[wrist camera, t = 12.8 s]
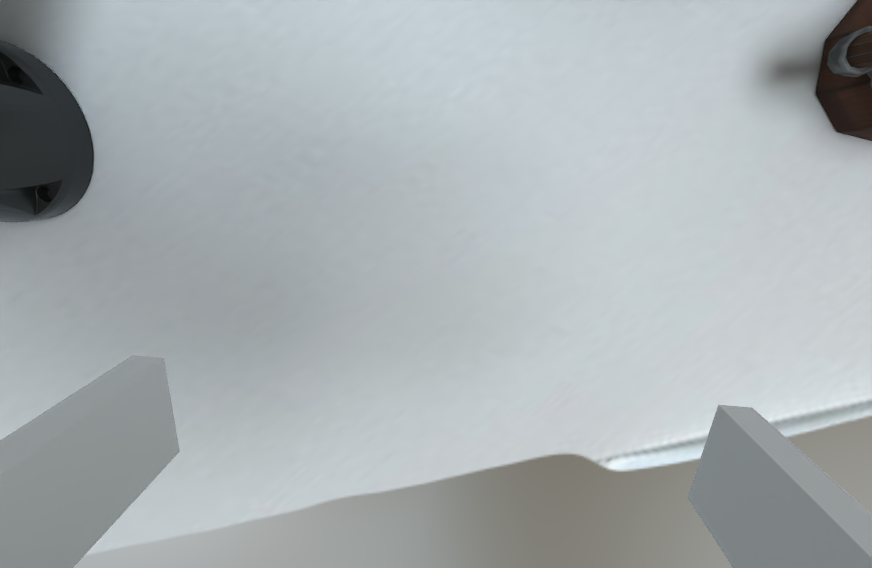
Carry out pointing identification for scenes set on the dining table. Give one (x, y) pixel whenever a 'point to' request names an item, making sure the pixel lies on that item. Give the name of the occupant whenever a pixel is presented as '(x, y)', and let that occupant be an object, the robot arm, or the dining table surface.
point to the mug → (849, 73)
